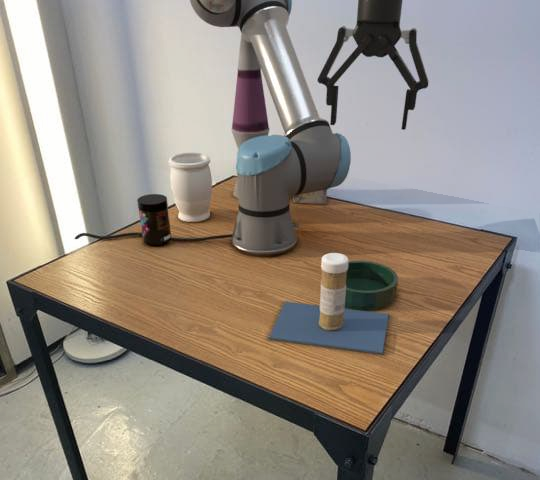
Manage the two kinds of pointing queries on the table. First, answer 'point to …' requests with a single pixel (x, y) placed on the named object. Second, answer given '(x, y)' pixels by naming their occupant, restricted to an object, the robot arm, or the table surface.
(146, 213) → the supplement container
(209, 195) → the jar
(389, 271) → the bowl
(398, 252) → the table surface
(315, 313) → the mat
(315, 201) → the coffee box
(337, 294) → the sprinkles bottle
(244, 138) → the lamp
